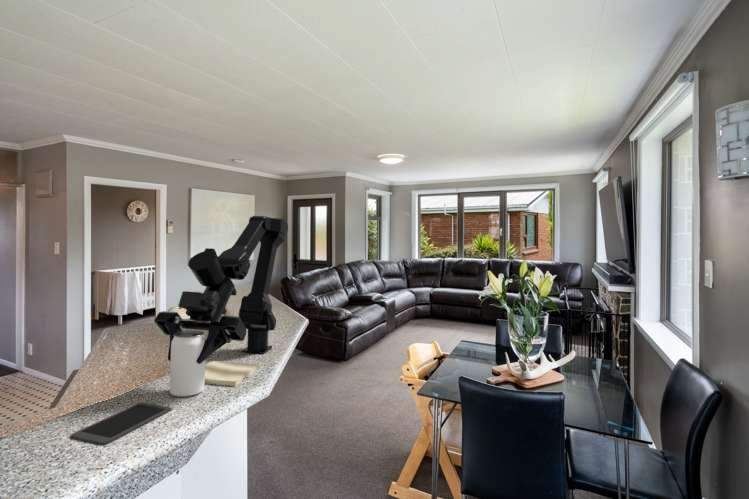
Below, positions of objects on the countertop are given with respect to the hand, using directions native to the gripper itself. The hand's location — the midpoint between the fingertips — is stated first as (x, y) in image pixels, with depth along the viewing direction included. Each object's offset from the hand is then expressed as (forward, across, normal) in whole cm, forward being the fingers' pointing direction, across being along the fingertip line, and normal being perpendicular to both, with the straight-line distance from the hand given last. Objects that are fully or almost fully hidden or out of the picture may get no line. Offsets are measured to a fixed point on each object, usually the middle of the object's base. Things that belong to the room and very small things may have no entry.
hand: (183, 361), depth 80 cm
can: (+4, 0, +6) cm, 7 cm away
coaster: (-4, +2, +14) cm, 14 cm away
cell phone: (+14, -2, -4) cm, 15 cm away
